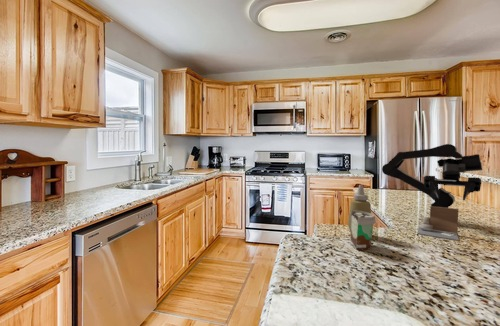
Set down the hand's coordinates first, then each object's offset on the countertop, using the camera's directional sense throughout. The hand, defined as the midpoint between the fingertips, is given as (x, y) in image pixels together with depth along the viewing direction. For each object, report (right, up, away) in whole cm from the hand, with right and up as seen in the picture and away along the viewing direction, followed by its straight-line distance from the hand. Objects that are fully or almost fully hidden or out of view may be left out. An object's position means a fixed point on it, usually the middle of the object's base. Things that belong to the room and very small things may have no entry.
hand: (451, 198), depth 104 cm
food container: (-45, -12, -23) cm, 52 cm away
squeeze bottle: (-41, -12, -11) cm, 44 cm away
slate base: (-9, -12, -5) cm, 16 cm away
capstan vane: (-9, -12, -5) cm, 15 cm away
